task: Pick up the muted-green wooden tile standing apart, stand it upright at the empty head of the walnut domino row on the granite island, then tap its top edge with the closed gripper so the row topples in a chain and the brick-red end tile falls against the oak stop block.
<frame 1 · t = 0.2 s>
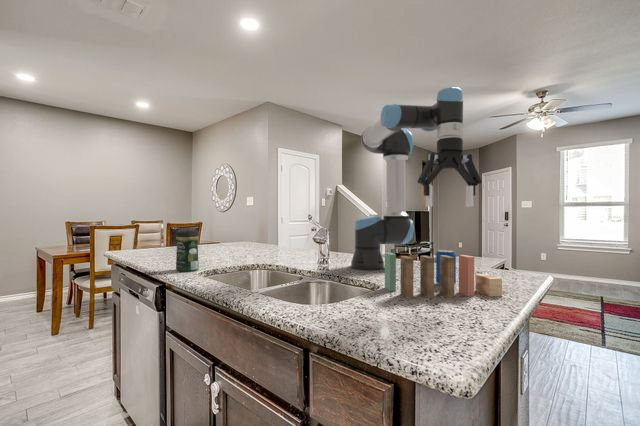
hand: (449, 206, 98), 27 cm above the worktop, fingers open, 13 cm apart
red end tile: (466, 294, 98), on the worktop
tile 4: (446, 294, 97), on the worktop
green tile: (390, 289, 104), on the worktop
oak stop block: (488, 293, 99), on the worktop
blue rectangular box: (445, 285, 111), on the worktop
tile 3: (426, 295, 96), on the worktop
coffee jar: (187, 270, 138), on the worktop
tile 2: (406, 296, 95), on the worktop
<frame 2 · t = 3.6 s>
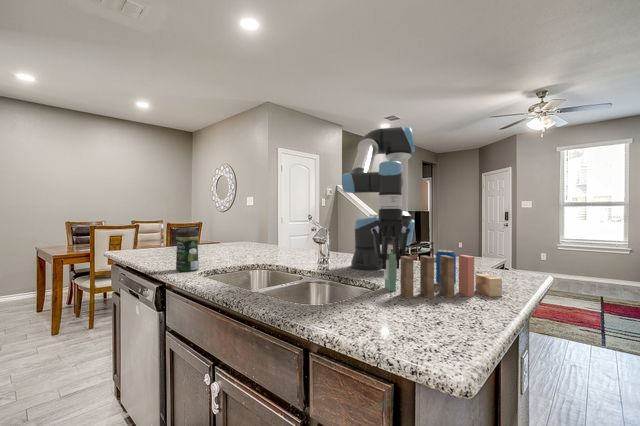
hand: (390, 278, 104), 4 cm above the worktop, fingers closed on green tile, 2 cm apart
green tile: (390, 289, 104), on the worktop, touching gripper
everything else where it was.
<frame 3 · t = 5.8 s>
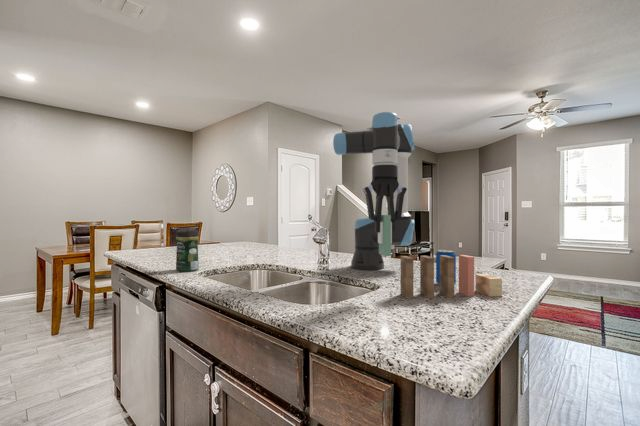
hand: (384, 243, 94), 16 cm above the worktop, fingers closed on green tile, 2 cm apart
green tile: (384, 254, 94), point 13 cm above the worktop, touching gripper
everything else where it was.
when the fingers open (4 cm above the worktop, at t = 8.0 s): green tile stays where it is, on the worktop.
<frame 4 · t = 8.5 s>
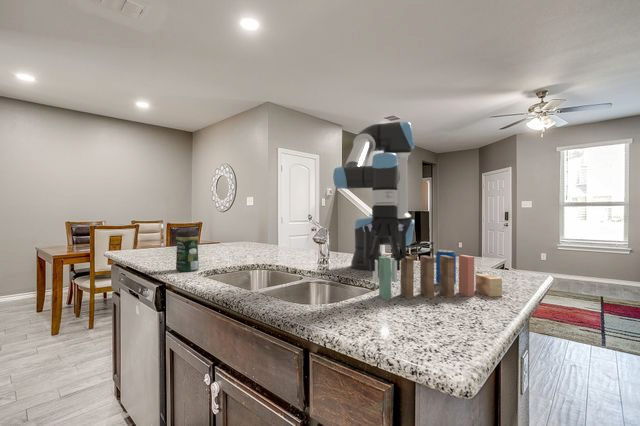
hand: (384, 281, 94), 5 cm above the worktop, fingers open, 5 cm apart
green tile: (384, 297, 94), on the worktop
tile 2: (406, 296, 95), on the worktop, touching gripper
everything else where it was.
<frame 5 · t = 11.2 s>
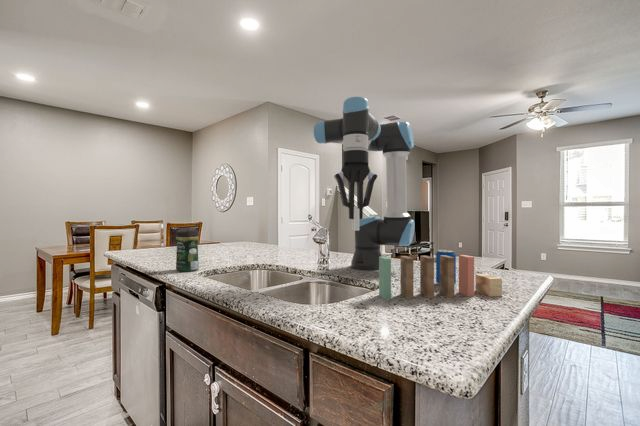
hand: (355, 230, 93), 20 cm above the worktop, fingers closed
tile 2: (406, 296, 95), on the worktop
everything else where it was.
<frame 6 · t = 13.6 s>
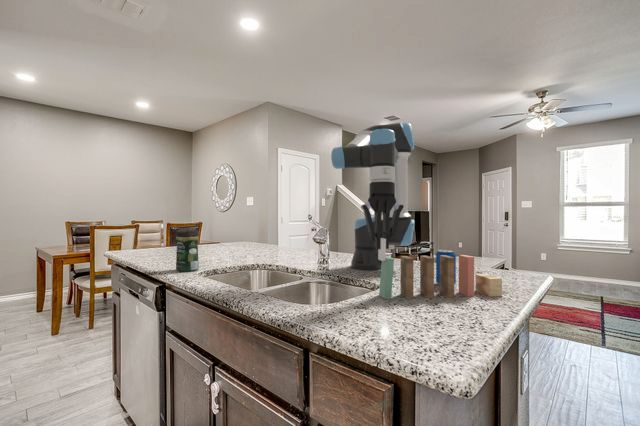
hand: (382, 259, 94), 11 cm above the worktop, fingers closed
nothing on the worktop moved.
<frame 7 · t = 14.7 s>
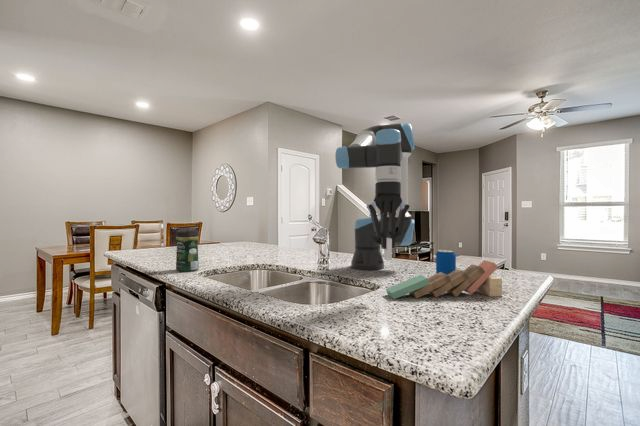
hand: (387, 259, 95), 11 cm above the worktop, fingers closed
red end tile: (464, 289, 98), point 1 cm above the worktop, tilted 48°, touching oak stop block, tile 4
tile 4: (449, 292, 97), point 1 cm above the worktop, tilted 52°, touching red end tile, tile 3
green tile: (389, 294, 95), point 1 cm above the worktop, tilted 70°, touching tile 2
tile 3: (430, 292, 96), point 1 cm above the worktop, tilted 62°, touching tile 2, tile 4
tile 2: (411, 293, 96), point 1 cm above the worktop, tilted 66°, touching green tile, tile 3
everything else where it was.
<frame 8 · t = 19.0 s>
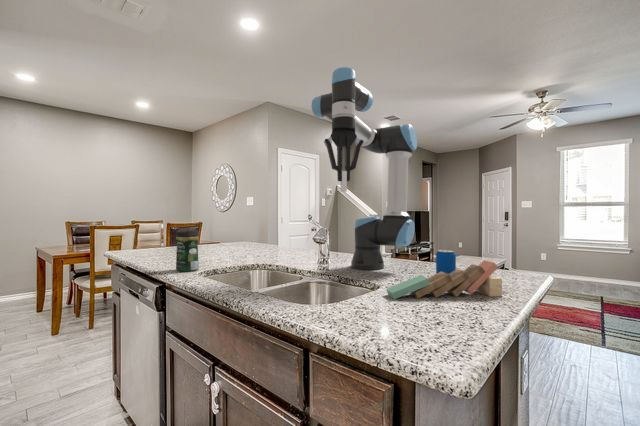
hand: (343, 191, 101), 32 cm above the worktop, fingers closed
nothing on the worktop moved.
at the end: red end tile tilted 48°; green tile tilted 71°; the gripper is holding nothing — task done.
